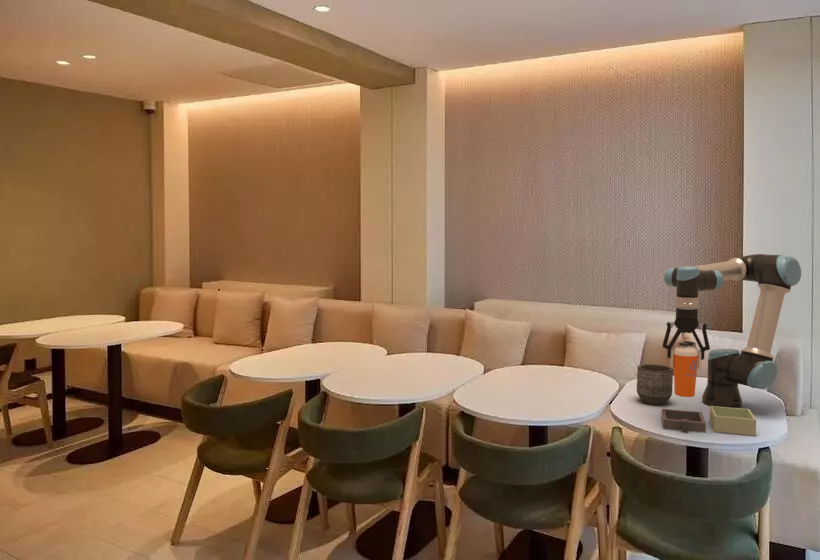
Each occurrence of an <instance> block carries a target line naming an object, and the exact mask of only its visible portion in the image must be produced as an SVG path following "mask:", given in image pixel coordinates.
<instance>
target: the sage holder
mask: <svg viewBox="0 0 820 560" xmlns="http://www.w3.org/2000/svg"><path fill="white" fill-rule="evenodd" d="M709 423H710V426H711V428H712V431H713V433H717V434H720V433H721V434H728V435H738V436H740V435H741V436H749V437H751V436H752V437H756V435H757V418H756V417H755V416H754V414H753V413H752V411H751V409H750V408H742V407H739V408H729V407H717V406H710V405H709Z"/></svg>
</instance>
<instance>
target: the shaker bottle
mask: <svg viewBox="0 0 820 560" xmlns="http://www.w3.org/2000/svg"><path fill="white" fill-rule="evenodd" d="M672 349H673V385H674V386H673V387H674V388H673V389H674V392H673V393H674V395H675V396H677V397H682V398H692V397H695V394H696V384H697V382H696V381H697V372H698V371H697V369H698V355H699V350H700V349H698V348H697V342H696V341H689V340H684V341H683V342H678V343H677V345H675V346H673V347H672Z"/></svg>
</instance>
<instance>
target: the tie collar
mask: <svg viewBox="0 0 820 560" xmlns="http://www.w3.org/2000/svg"><path fill="white" fill-rule="evenodd" d="M660 411H661V412H660V415H661V416H660V418H661V425H662V429H663V430H673V431H681V433H682V434H683V433H684V434H685V433H686V434H688V433H689V432H695V433H696V432H697V433H703V434H705V433H706V429H707V428H706V427H707V426H706V425H707V423H706V420H705V417H704V415H703V413H702V411H695V410H694V411H693V410H682V409H681V410H680V409H671V408H669V409H667V408H661V410H660Z"/></svg>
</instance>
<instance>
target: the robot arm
mask: <svg viewBox="0 0 820 560" xmlns="http://www.w3.org/2000/svg"><path fill="white" fill-rule="evenodd" d="M663 277H664V278H663V279H664V282H665V284H666V285H667V286H668V287H673V288H676V297H675V299H676V300H675V307H676V309H675V319H674V321H671V322H670V321H667V322H666V331H665V334H664V339H663V342H662V348H663V349H666V351H667V353H666V356H667V359H670V362H669V363H670V365H669V367H671V368H674V354H673V348H674V345H675V343H676V342H677V340H678V338H679V337H680V335H681V334H692V335H693V337H694V339H695V342H696V344H697V345H698V347H699V349H698V350H699V355H698V360H697V369H698V370H700V369H702V361H703V360H705V352H706V351H709V350H710V349H711V347H710V342H709V337H708V333H707V328H708V327H707V326H708V325H707V323H705V322H699V320H698V316H699V311H698V310H699V309H697V308H698V307H699V292H704V291H707V292H709V291H715V290H719V289H721V288H722V287H723V285H724V281H728V280H732V281H736V282H738V281H747V282H754V283H757V287H758V288H759V289H760V292H759V296H758V299H757V304H756V308H755V312H754V316H753V320H752V323H751V329H750V331H749V332H750V333H749V336H748V340H747V344H746V347H745V348H742V349H741V351H740V350H739V349H736V348H735V349H733V348H719V349H718V348H717V349H712V350H710V351H709V353H708V359H707V383H706V386H705V389H704V391H703V394H702V398H701V401H702V403H703V404H705V405H707V406H709V407H710V406H717V407H729V408H742V406H743V399H742V396H741V392H740V389H739V385H741V386H746V387H749V388H752V389H759V390H764V389H767V388H768V387H770V386H771V385H772V384H774V382H775V381H776V379H777V377H778V376H777V375H778V369H777V367H778V366H777V364H776V363H775V362H774V356H773V355H772V353H771V352H772V346H773V343H774V340H775V335H776V331H777V327H778V324H779V319H780V315H781V312H782V307H783V302H784V298H785V295H786V294H788V293H790V292H791V288H792V287H794V286H796V285H798V283H799V282H800V280H801V277H802V268H801V265H800V263H799V261H798V259H796V258H795V257H793V256H792V255H791V256H789V255H783V254H764V253H757V254H749V255H744V256H743V255H742V256H737V257H733V258H730V259H729V260H728V261H722V262H715V263H708V264H701V265H693V266H688V265H687V266H679V267H669V268H668V269H666V270H665V273H664V275H663ZM674 326H675V328H676V331H675V333H674V335H673V337H672V338H671V340H670V342H669V338H670V335H671V331H672V328H673V327H674ZM698 327H699V328H700V330H701V332H702V336H703V341H704V345H705V346H703V344H702V342H701V340H700V338H699V335H698V334H697V332H696V329H697V328H698ZM668 342H669V343H668Z"/></svg>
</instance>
